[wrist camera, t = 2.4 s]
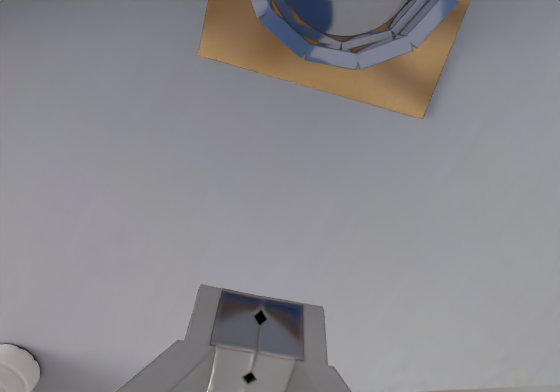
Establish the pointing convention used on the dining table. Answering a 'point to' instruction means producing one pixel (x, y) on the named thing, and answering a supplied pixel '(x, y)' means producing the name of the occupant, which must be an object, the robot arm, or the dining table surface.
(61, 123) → the dining table surface
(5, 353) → the water bottle
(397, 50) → the bowl
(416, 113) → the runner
